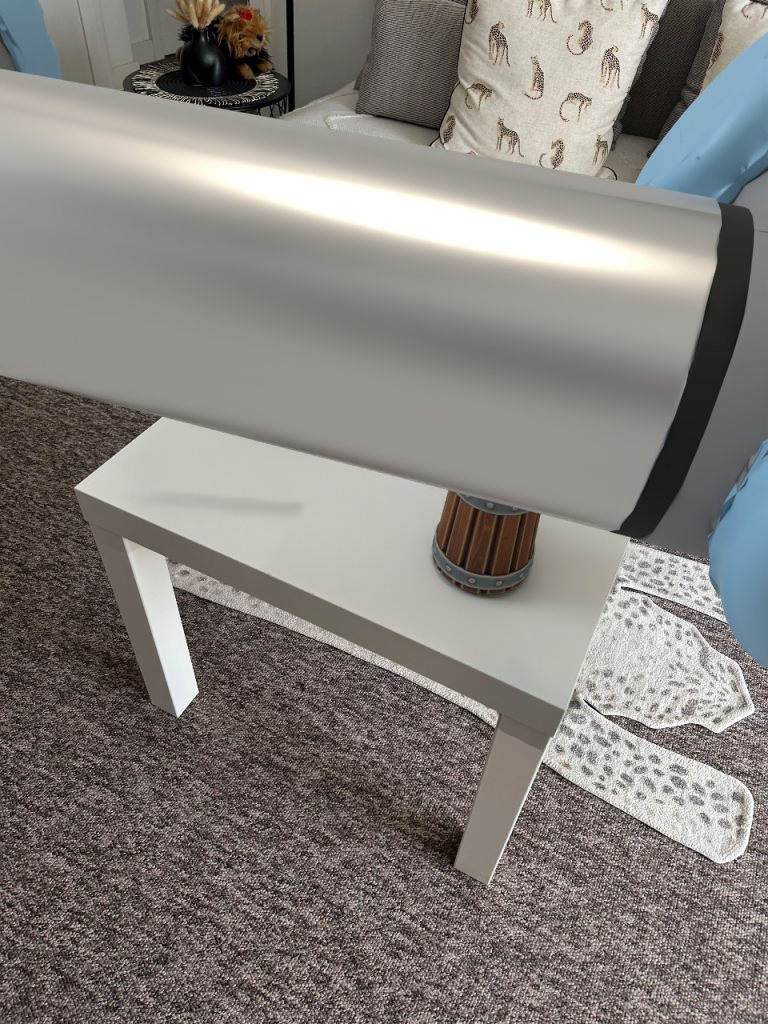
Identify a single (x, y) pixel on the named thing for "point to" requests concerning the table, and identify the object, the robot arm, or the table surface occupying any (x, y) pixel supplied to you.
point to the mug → (484, 544)
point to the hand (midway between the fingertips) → (576, 471)
